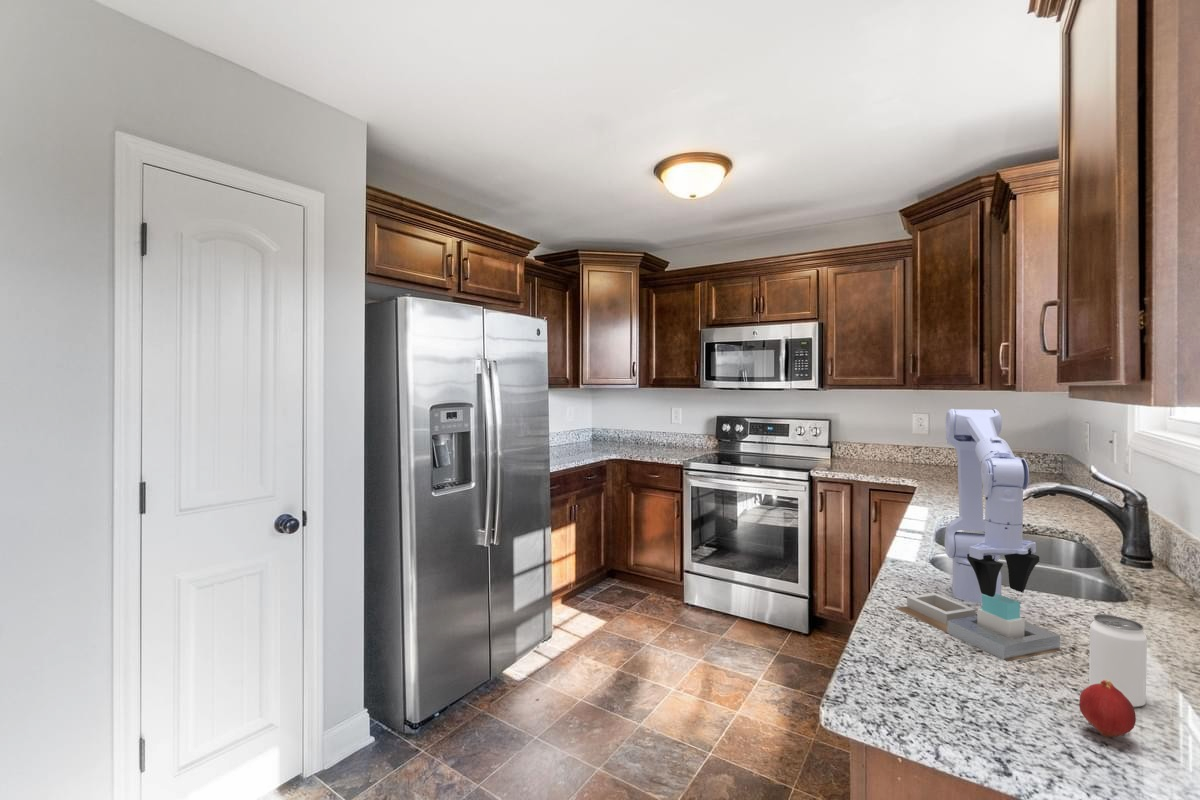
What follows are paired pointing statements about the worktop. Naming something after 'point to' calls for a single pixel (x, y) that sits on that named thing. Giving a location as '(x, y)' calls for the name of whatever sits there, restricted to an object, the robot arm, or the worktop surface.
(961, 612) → the grey rectangular frame
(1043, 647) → the port
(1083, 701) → the onion
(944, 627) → the panel board
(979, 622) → the plug
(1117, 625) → the can
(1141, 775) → the worktop surface
